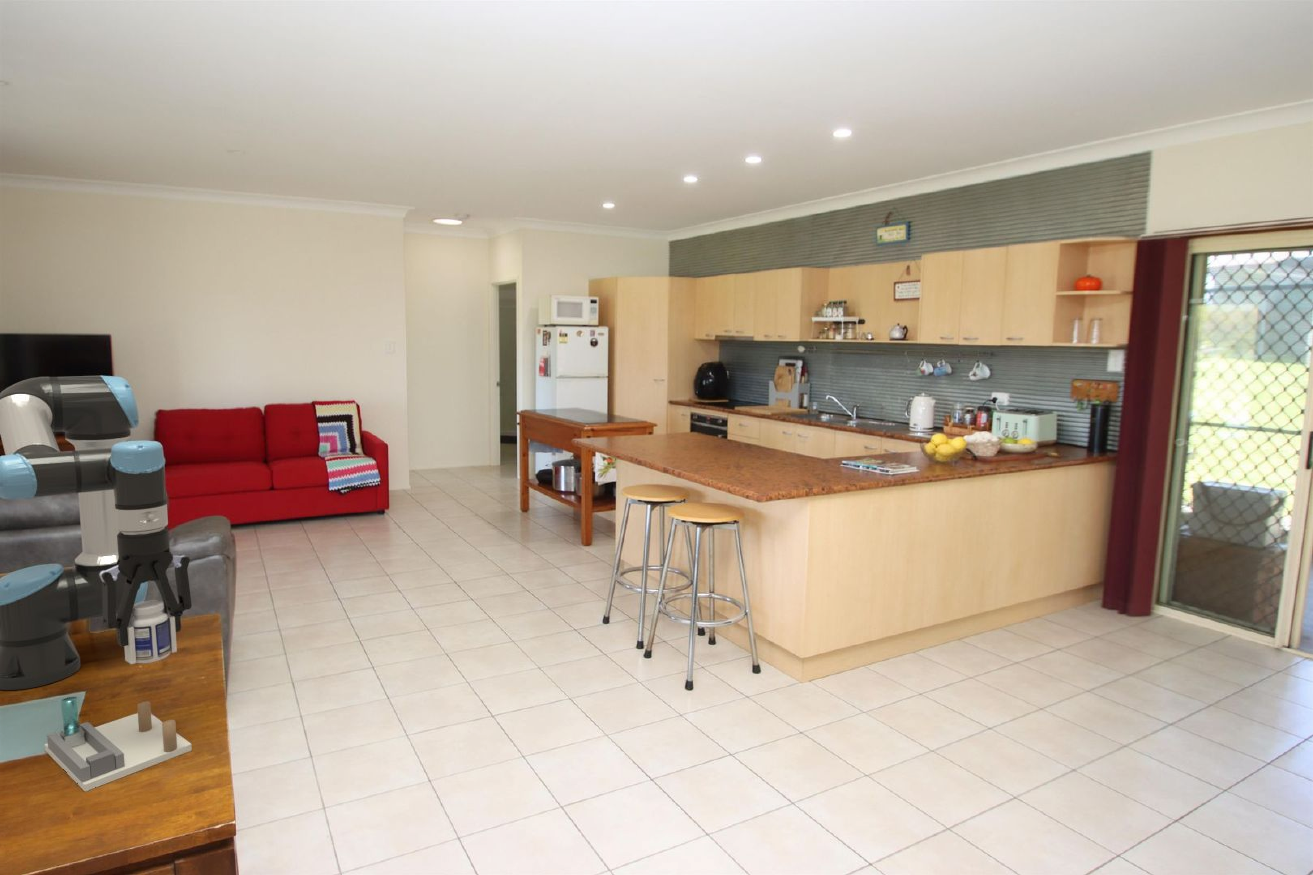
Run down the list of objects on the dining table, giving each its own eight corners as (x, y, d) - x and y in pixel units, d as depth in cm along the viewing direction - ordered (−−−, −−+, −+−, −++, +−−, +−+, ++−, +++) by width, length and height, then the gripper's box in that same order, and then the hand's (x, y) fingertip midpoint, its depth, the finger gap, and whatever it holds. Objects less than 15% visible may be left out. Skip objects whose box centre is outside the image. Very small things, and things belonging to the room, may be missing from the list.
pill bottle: (164, 648, 139) (160, 596, 137) (175, 656, 135) (172, 603, 134) (127, 657, 134) (123, 604, 133) (138, 667, 131) (134, 611, 129)
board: (45, 750, 134) (42, 717, 133) (146, 715, 147) (144, 685, 146) (84, 791, 122) (82, 755, 122) (191, 750, 135) (189, 717, 134)
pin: (60, 744, 134) (56, 700, 133) (79, 738, 136) (75, 694, 135) (65, 750, 132) (62, 704, 131) (84, 743, 134) (81, 699, 133)
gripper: (86, 543, 122) (96, 679, 125) (209, 523, 137) (216, 644, 140) (70, 536, 126) (80, 667, 129) (191, 517, 141) (198, 635, 144)
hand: (151, 655), depth 135 cm, fingers closed on pill bottle, 6 cm apart
